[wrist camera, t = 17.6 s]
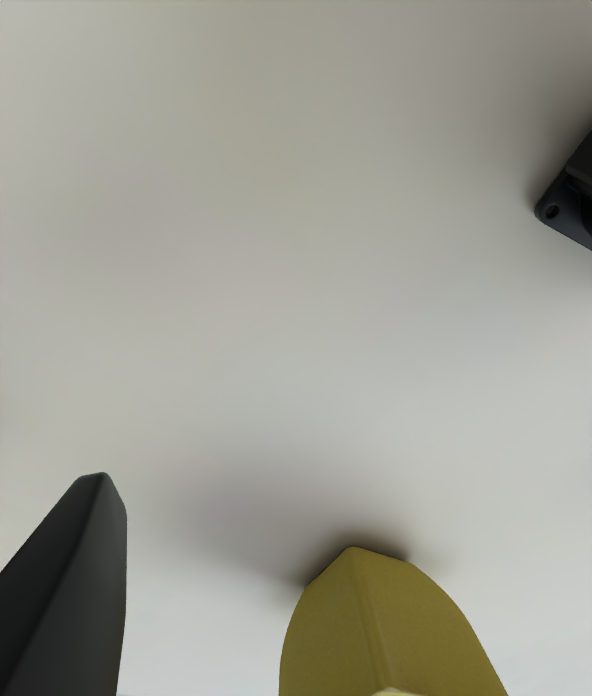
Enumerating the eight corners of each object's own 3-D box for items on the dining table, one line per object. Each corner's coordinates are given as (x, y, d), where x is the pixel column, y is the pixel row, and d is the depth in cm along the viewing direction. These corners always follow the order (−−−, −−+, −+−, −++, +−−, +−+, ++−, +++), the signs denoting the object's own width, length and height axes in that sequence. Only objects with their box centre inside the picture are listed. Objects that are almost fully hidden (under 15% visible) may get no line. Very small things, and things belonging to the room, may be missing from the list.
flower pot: (369, 625, 37) (408, 787, 30) (259, 599, 34) (273, 774, 26) (455, 552, 34) (523, 715, 26) (341, 514, 30) (383, 689, 23)
